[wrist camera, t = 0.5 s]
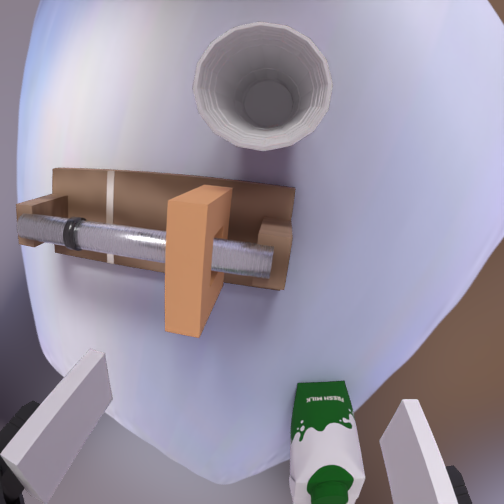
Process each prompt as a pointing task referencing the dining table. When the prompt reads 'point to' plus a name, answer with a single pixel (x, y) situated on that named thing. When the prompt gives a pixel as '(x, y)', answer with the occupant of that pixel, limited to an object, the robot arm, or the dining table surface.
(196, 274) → the collar
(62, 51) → the dining table surface
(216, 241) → the steel pipe
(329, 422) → the milk carton
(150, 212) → the pipe stand
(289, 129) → the plastic cup
